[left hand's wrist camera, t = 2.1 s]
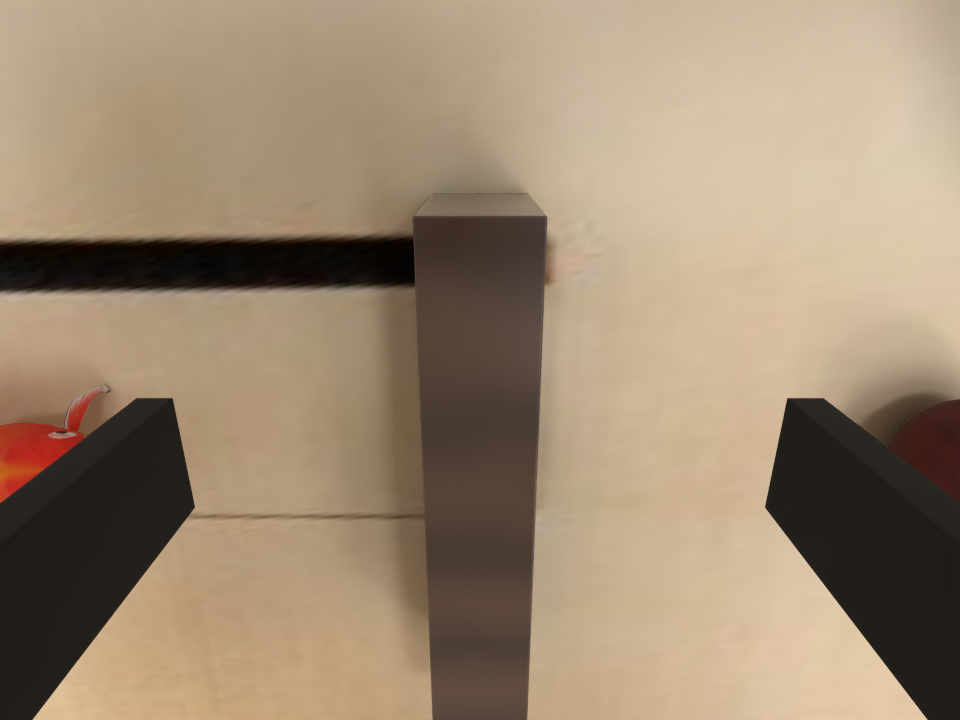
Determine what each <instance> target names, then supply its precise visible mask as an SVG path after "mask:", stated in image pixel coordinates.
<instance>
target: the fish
mask: <svg viewBox="0 0 960 720" xmlns="http://www.w3.org/2000/svg"><path fill="white" fill-rule="evenodd" d="M110 391H111V390H110V389H109V388H108V387H107V386H106V385H105V384H104V385H101V386H98V387H96V388H93V389H90V390H88V391H87V392H85V393H84V394H82V395H80V396H79V397H77V398H76V399H75V400H74V401H73V402H72V403H71V404H70V406H69V408H68V411H67V415H66V419H65V423H64V428H57V427H54V426H51V425H46V424H30V423H14V424H7V425H2V426H0V503H1V502H2V501H3V500H5V499H6V498H7V497H9V496H10V495H11V494H13V493H14V492H15V491H16V490H18V489H19V488H20V487H22V486H23V485H24V484H26V483H27V482H28V481H30V480H31V479H32V478H33V477H35V476H36V475H37V474H39V473H40V472H41V471H43V470H44V469H45V468H46V467H48V466H49V465H50V464H52V463H53V462H54V461H56V460H57V459H58V458H60V457H61V456H62V455H63V454H65V453H66V452H67V451H69V450H70V449H71V448H73V447H74V446H75V445H76V444H78V443H79V442H80V441H82V440H83V439H84V438H86V437H87V436H85V435H83V434H81V433H79V432H78V431H79V428H80V426H81V423H82V420H83V417H84V415H85V413H86V411H87V410H88V408H89V405H90V403H91V401H92V400H93V398H94V397H95V396H96V394H99V393H101V392H103V393H108V392H110Z"/></svg>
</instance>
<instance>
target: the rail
mask: <svg viewBox="0 0 960 720" xmlns="http://www.w3.org/2000/svg"><path fill="white" fill-rule="evenodd" d="M546 237H547V216H546V215H545V214H544V213H543V211H542V210H541V209H540V208H539V206H538V205H537V204H536V203H535V202H534V200H533V199H532V198H531V197H530V196H529V194H431V195H430V197H429V198H428V199H427V200H426V201H425V203H424V204H423V205H422V206H421V207H420V209H419V210H418V211H417V212H416V214H415V215H414V216H413V243H414V268H415V292H416V317H417V342H418V367H419V392H420V417H421V442H422V467H423V492H424V516H425V541H426V566H427V591H428V616H429V641H430V666H431V691H432V716H433V720H527V712H528V687H529V662H530V637H531V612H532V587H533V562H534V537H535V512H536V487H537V462H538V437H539V412H540V387H541V362H542V337H543V312H544V287H545V262H546Z"/></svg>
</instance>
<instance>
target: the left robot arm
mask: <svg viewBox="0 0 960 720" xmlns="http://www.w3.org/2000/svg"><path fill="white" fill-rule="evenodd" d="M194 508H195V505H194V501H193V496H192V491H191V486H190V481H189V476H188V471H187V466H186V462H185V457H184V452H183V447H182V442H181V437H180V432H179V427H178V422H177V418H176V413H175V408H174V403H173V398H136V399H135V400H134V401H133V402H131V403H130V404H129V405H127V406H126V407H125V408H123V409H122V410H121V411H120V412H118V413H117V414H116V415H114V416H113V417H112V418H110V419H109V420H108V421H106V422H105V423H104V424H103V425H101V426H100V427H99V428H97V429H96V430H95V431H93V432H92V433H91V434H90V435H88V436H87V437H86V438H84V439H83V440H82V441H80V442H79V443H78V444H76V445H75V446H74V447H73V448H71V449H70V450H69V451H67V452H66V453H65V454H63V455H62V456H61V457H60V458H58V459H57V460H56V461H54V462H53V463H52V464H50V465H49V466H48V467H46V468H45V469H44V470H43V471H41V472H40V473H39V474H37V475H36V476H35V477H33V478H32V479H31V480H30V481H28V482H27V483H26V484H24V485H23V486H22V487H20V488H19V489H18V490H16V491H15V492H14V493H13V494H11V495H10V496H9V497H7V498H6V499H5V500H3V501H2V502H1V503H0V720H33V718H34V717H35V716H36V714H37V713H38V712H39V710H40V709H41V708H42V706H43V705H44V704H45V703H46V701H47V700H48V699H49V697H50V696H51V695H52V693H53V692H54V691H55V690H56V688H57V687H58V686H59V684H60V683H61V682H62V680H63V679H64V678H65V676H66V675H67V674H68V673H69V671H70V670H71V669H72V667H73V666H74V665H75V663H76V662H77V661H78V659H79V658H80V657H81V656H82V654H83V653H84V652H85V650H86V649H87V648H88V646H89V645H90V644H91V642H92V641H93V640H94V639H95V637H96V636H97V635H98V633H99V632H100V631H101V629H102V628H103V627H104V626H105V624H106V623H107V622H108V620H109V619H110V618H111V616H112V615H113V614H114V612H115V611H116V610H117V609H118V607H119V606H120V605H121V603H122V602H123V601H124V599H125V598H126V597H127V595H128V594H129V593H130V592H131V590H132V589H133V588H134V586H135V585H136V584H137V582H138V581H139V580H140V578H141V577H142V576H143V575H144V573H145V572H146V571H147V569H148V568H149V567H150V565H151V564H152V563H153V562H154V560H155V559H156V558H157V556H158V555H159V554H160V552H161V551H162V550H163V548H164V547H165V546H166V545H167V543H168V542H169V541H170V539H171V538H172V537H173V535H174V534H175V533H176V531H177V530H178V529H179V528H180V526H181V525H182V524H183V522H184V521H185V520H186V518H187V517H188V516H189V514H190V513H191V512H192V511H193V509H194ZM765 508H766V509H767V511H768V512H769V513H770V514H771V516H772V517H773V518H774V520H775V521H776V522H777V524H778V525H779V526H780V528H781V529H782V530H783V531H784V533H785V534H786V535H787V537H788V538H789V539H790V541H791V542H792V543H793V545H794V546H795V547H796V548H797V550H798V551H799V552H800V554H801V555H802V556H803V558H804V559H805V560H806V562H807V563H808V564H809V565H810V567H811V568H812V569H813V571H814V572H815V573H816V575H817V576H818V577H819V578H820V580H821V581H822V582H823V584H824V585H825V586H826V588H827V589H828V590H829V592H830V593H831V594H832V595H833V597H834V598H835V599H836V601H837V602H838V603H839V605H840V606H841V607H842V609H843V610H844V611H845V612H846V614H847V615H848V616H849V618H850V619H851V620H852V622H853V623H854V624H855V626H856V627H857V628H858V629H859V631H860V632H861V633H862V635H863V636H864V637H865V639H866V640H867V641H868V642H869V644H870V645H871V646H872V648H873V649H874V650H875V652H876V653H877V654H878V656H879V657H880V658H881V659H882V661H883V662H884V663H885V665H886V666H887V667H888V669H889V670H890V671H891V673H892V674H893V675H894V676H895V678H896V679H897V680H898V682H899V683H900V684H901V686H902V687H903V688H904V690H905V691H906V692H907V693H908V695H909V696H910V697H911V699H912V700H913V701H914V703H915V704H916V705H917V706H918V708H919V709H920V710H921V712H922V713H923V714H924V716H925V717H926V718H927V720H960V503H959V502H958V501H957V500H955V499H954V498H953V497H951V496H950V495H949V494H947V493H946V492H945V491H944V490H942V489H941V488H940V487H938V486H937V485H936V484H934V483H933V482H932V481H930V480H929V479H928V478H927V477H925V476H924V475H923V474H921V473H920V472H919V471H917V470H916V469H915V468H914V467H912V466H911V465H910V464H908V463H907V462H906V461H904V460H903V459H902V458H900V457H899V456H898V455H897V454H895V453H894V452H893V451H891V450H890V449H889V448H887V447H886V446H885V445H884V444H882V443H881V442H880V441H878V440H877V439H876V438H874V437H873V436H872V435H870V434H869V433H868V432H867V431H865V430H864V429H863V428H861V427H860V426H859V425H857V424H856V423H855V422H854V421H852V420H851V419H850V418H848V417H847V416H846V415H844V414H843V413H842V412H840V411H839V410H838V409H837V408H835V407H834V406H833V405H831V404H830V403H829V402H827V401H826V400H825V399H824V398H787V403H786V408H785V413H784V418H783V422H782V427H781V432H780V437H779V442H778V447H777V452H776V457H775V461H774V466H773V471H772V476H771V481H770V486H769V491H768V496H767V501H766V505H765Z"/></svg>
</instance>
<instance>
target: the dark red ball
mask: <svg viewBox="0 0 960 720" xmlns="http://www.w3.org/2000/svg"><path fill="white" fill-rule="evenodd" d="M888 448H889V449H890V450H891V451H893V452H894V453H895V454H897V455H898V456H899V457H900V458H902V459H903V460H904V461H906V462H907V463H908V464H910V465H911V466H912V467H914V468H915V469H916V470H917V471H919V472H920V473H921V474H923V475H924V476H925V477H927V478H928V479H929V480H930V481H932V482H933V483H934V484H936V485H937V486H938V487H940V488H941V489H942V490H944V491H945V492H946V493H947V494H949V495H950V496H951V497H953V498H954V499H955V500H957V501H958V502H959V503H960V399H959V400H952V401H946V402H943V403H940V404H938V405H936V406H934V407H932V408H930V409H928V410H926V411H924V412H922V413H920V414H919V415H918V416H917V417H916V418H914V419H913V420H912V421H911V422H909V423H908V424H907V425H906V426H904V427H903V428H902V429H900V431H899V432H898V434H897V435H896V436H895V438H894V439H893V441H892V442H891V443H890V445H889V446H888Z"/></svg>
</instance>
